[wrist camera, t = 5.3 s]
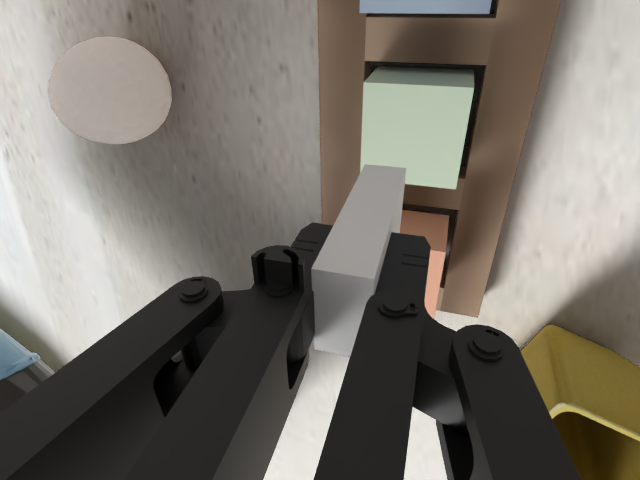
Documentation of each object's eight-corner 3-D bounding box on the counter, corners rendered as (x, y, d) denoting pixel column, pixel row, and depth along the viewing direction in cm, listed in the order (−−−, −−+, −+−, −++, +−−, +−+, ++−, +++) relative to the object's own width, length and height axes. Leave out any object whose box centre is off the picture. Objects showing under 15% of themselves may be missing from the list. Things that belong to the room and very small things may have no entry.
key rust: (364, 268, 29) (350, 305, 26) (367, 205, 26) (352, 238, 23) (437, 280, 28) (433, 321, 24) (449, 215, 25) (445, 252, 22)
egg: (206, 113, 28) (133, 154, 22) (140, 130, 31) (58, 171, 24) (166, 16, 25) (70, 32, 19) (97, 44, 28) (-8, 66, 22)
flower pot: (540, 290, 28) (564, 403, 21) (665, 345, 27) (734, 480, 20) (473, 363, 33) (474, 473, 26) (576, 411, 33) (606, 536, 25)
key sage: (373, 152, 26) (359, 178, 22) (378, 65, 23) (363, 82, 20) (457, 160, 24) (455, 189, 21) (473, 69, 21) (474, 87, 18)
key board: (330, 273, 32) (323, 289, 31) (327, -194, 18) (313, -209, 17) (477, 298, 30) (477, 317, 28) (610, -229, 15) (627, -252, 14)
